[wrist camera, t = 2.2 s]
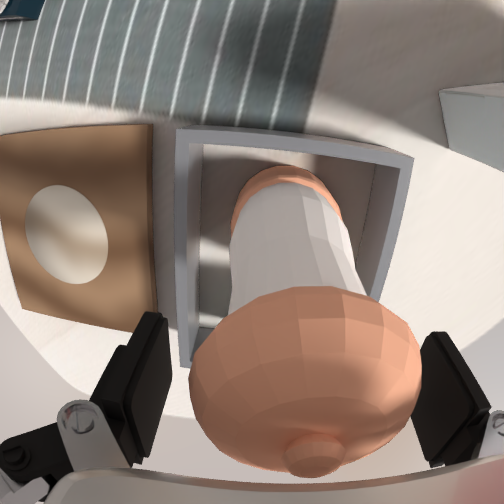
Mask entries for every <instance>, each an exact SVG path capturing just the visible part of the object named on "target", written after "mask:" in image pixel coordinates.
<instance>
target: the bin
mask: <svg viewBox="0 0 504 504" xmlns="http://www.w3.org/2000/svg"><path fill="white" fill-rule="evenodd" d="M203 144H214V145H230V146H243V147H255V148H265V149H275V150H285V151H294V152H302V153H310V154H317V155H325V156H332V157H338V158H345V159H351V160H357V161H363V162H369V163H375V164H376V167H375V173H374V179H373V185H372V190H371V195H370V201H369V206H368V211H367V216H366V220H365V225H364V230H363V234H362V239H361V243H360V248H359V252H358V256H357V261H356V265H355V270H356V272H357V274H358V277H359V279H360V281H361V283H362V285H363V288H364V290H365V292H366V294H367V296H369V297H371V298H373V299H374V300H376V301H377V302H379V299H380V296H381V293H382V289H383V286H384V283H385V280H386V276H387V273H388V269H389V266H390V262H391V259H392V255H393V251H394V248H395V244H396V240H397V236H398V232H399V228H400V224H401V220H402V216H403V211H404V207H405V202H406V198H407V193H408V188H409V183H410V178H411V173H412V168H413V162H414V158H413V157H411V156H408V155H406V154H403V153H401V152H398V151H396V150H393V149H391V148H387V147H382V146H377V145H372V144H366V143H361V142H355V141H349V140H343V139H337V138H331V137H324V136H317V135H310V134H302V133H294V132H285V131H276V130H266V129H255V128H243V127H228V126H211V125H190V126H186V127H182V128H178V129H176V145H175V179H174V252H175V287H176V309H177V327H178V343H179V356H180V367H184V368H191V365H192V361H193V357H194V354H195V352H196V351H197V349H198V348H199V347H200V346H201V345H202V343H203V342H204V341H205V340H206V339H207V337H208V336H209V335H210V334H211V332H212V331H213V330H214V329H210V328H202V327H199V250H200V210H201V183H202V161H203Z"/></svg>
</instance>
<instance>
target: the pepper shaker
mask: <svg viewBox="0 0 504 504" xmlns="http://www.w3.org/2000/svg"><path fill="white" fill-rule="evenodd" d="M230 224H231V242H230V245H229V255H230V268H231V278H232V293H231V299H230V305H229V311H228V316H226V317H225V318H223V319H222V321H221V322H220V323H219V324H218V325H217V326H216V328H215V329H214V330H213V331H212V332H211V334H210V335H209V336H208V337H207V339H206V340H205V341H204V342H203V343H202V345H201V346H200V347H199V348H198V349H197V351H196V352H195V354H194V357H193V361H192V365H191V369H190V373H189V377H188V380H189V390H190V398H191V402H192V406H193V410H194V414H195V417H196V419H197V421H198V423H199V424H200V426H201V428H202V429H203V431H204V432H205V434H206V436H207V437H208V438H209V439H210V440H211V441H212V443H213V444H214V445H215V446H216V447H217V448H218V449H219V451H221V452H223V453H224V454H226V455H228V456H229V457H231V458H233V459H235V460H236V461H238V462H240V463H243V464H247V465H250V466H253V467H256V468H260V469H263V470H270V471H278V472H289V473H291V474H292V475H294V476H298V477H304V478H317V477H321V476H324V475H327V474H330V473H332V472H334V471H336V470H337V469H338V468H339V467H340V466H343V465H345V464H348V463H351V462H353V461H356V460H359V459H361V458H363V457H366V456H368V455H370V454H371V453H373V452H375V451H376V450H378V449H379V448H381V447H382V446H384V445H386V444H387V443H389V442H390V441H391V440H392V439H393V438H394V437H395V436H396V435H397V434H398V433H399V432H400V431H401V430H402V428H404V427H405V425H406V423H407V421H408V419H409V417H410V416H411V414H412V412H413V410H414V407H415V405H416V402H417V399H418V396H419V393H420V390H421V376H422V364H421V356H420V348H419V344H418V343H417V341H416V339H415V337H414V335H413V333H412V331H411V329H410V328H409V326H408V324H407V322H405V321H404V320H402V319H401V318H400V317H398V316H397V315H395V314H394V313H393V312H391V311H390V310H388V309H387V308H386V307H384V306H383V305H381V304H380V303H378V302H377V301H376V300H374V299H373V298H371V297H369V296H367V294H366V292H365V290H364V288H363V285H362V283H361V281H360V279H359V277H358V274H357V272H356V270H355V264H354V258H353V252H352V247H351V243H350V238H349V234H348V230H347V228H346V226H345V225H344V223H343V221H342V217H341V213H340V209H339V206H338V204H337V203H336V201H335V200H334V198H333V197H332V195H331V194H330V192H329V191H328V190H327V188H326V187H325V185H324V184H323V182H322V181H321V180H320V179H319V178H317V177H316V176H315V175H313V174H312V173H311V172H309V171H307V170H304V169H301V168H298V167H295V166H274V167H271V168H268V169H265V170H262V171H260V172H259V173H258V174H256V175H255V176H253V177H252V178H251V179H249V180H248V181H247V183H246V184H245V186H244V187H243V189H242V190H241V191H240V193H239V196H238V199H237V202H236V205H235V209H234V212H233V215H232V219H231V222H230Z"/></svg>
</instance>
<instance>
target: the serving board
mask: <svg viewBox="0 0 504 504" xmlns="http://www.w3.org/2000/svg"><path fill="white" fill-rule="evenodd" d="M152 139H153V124H124V125H99V126H82V127H68V128H57V129H47V130H38V131H29V132H21V133H14V134H7V135H1V136H0V219H1V224H2V230H3V235H4V240H5V245H6V250H7V254H8V258H9V263H10V267H11V271H12V275H13V278H14V282H15V286H16V289H17V293H18V296H19V299H20V303H21V306H22V309H25V310H29V311H33V312H37V313H41V314H45V315H49V316H53V317H57V318H62V319H66V320H71V321H75V322H80V323H84V324H89V325H94V326H99V327H104V328H109V329H115V330H120V331H126V332H131V333H133V332H134V330H135V328H136V327H137V325H138V323H139V321H140V319H141V317H142V315H143V314H144V312H145V311H149V312H156V313H158V307H157V295H156V282H155V266H154V247H153V220H152Z"/></svg>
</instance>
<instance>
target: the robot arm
mask: <svg viewBox="0 0 504 504" xmlns="http://www.w3.org/2000/svg"><path fill="white" fill-rule="evenodd" d="M420 356H421V364H422V376H421V390H420V393H419V396H418V399H417V402H416V405H415V407H414V410H413V412H412V414H411V419H412V422H413V425H414V428H415V430H416V434H417V436H418V439H419V442H420V445H421V448H422V451H423V454H424V457H425V460H426V461H429V464H430V467H431V468H433V467H438V466H442V465H443V464H445V467H441V468H436V469H432V470H427V471H422V472H417V473H411V474H405V475H399V476H393V477H385V478H378V479H370V480H361V481H349V482H336V483H313V484H273V483H272V484H271V483H251V482H237V481H225V480H214V479H205V478H197V477H189V476H183V475H176V474H171V473H163V472H156V471H150V470H142V469H133V468H132V466H133V463H137V464H142V461H143V458H144V457H147V458H148V457H149V455H150V452H151V449H152V445H153V442H154V439H155V435H156V432H157V428H158V425H159V421H160V418H161V415H162V411H163V408H164V405H165V402H166V398H167V395H168V392H169V388H170V385H171V382H172V365H171V355H170V344H169V331H168V320H167V318H163V316H162V314H161V313H156V312H149V311H145V312H144V314H143V315H142V317H141V319H140V321H139V323H138V325H137V327H136V328H135V330H134V332H133V334H132V336H131V338H130V340H129V342H128V344H127V346H125V345H119V346H118V347H117V348H116V350H115V352H114V354H113V355H112V357H111V359H110V361H109V363H108V365H107V367H106V369H105V370H104V372H103V374H102V376H101V378H100V380H99V382H98V384H97V386H96V388H95V390H94V392H93V394H92V396H91V398H90V400H89V401H88V400H74V401H71V402H69V403H67V404H66V405H64V406H63V407H62V408H61V409H60V411H59V412H58V416H57V422H56V423H53V424H50V425H47V426H44V427H41V428H39V429H36V430H33V431H30V432H27V433H24V434H21V435H17V436H15V437H11V438H9V439H7V440H5V441H4V442H2V444H0V504H35V503H36V502H37V501H40V502H44V504H504V411H501V410H499V411H498V410H497V411H494V412H492V413H491V414H490V413H489V412H488V411H489V410H490V409H491V405H490V403H489V402H488V400H487V398H486V396H485V394H484V392H483V391H482V389H481V387H480V385H479V384H478V382H477V380H476V379H475V377H474V375H473V374H472V372H471V370H470V368H469V367H468V365H467V364H466V362H465V360H464V359H463V357H462V355H461V354H460V352H459V351H458V349H457V348H456V346H455V344H454V343H453V341H452V340H451V338H450V337H449V335H448V334H447V333H446V332H431V333H430V335H429V336H427V337H426V338H425V340H424V343H423V345H422V347H421V349H420Z"/></svg>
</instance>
